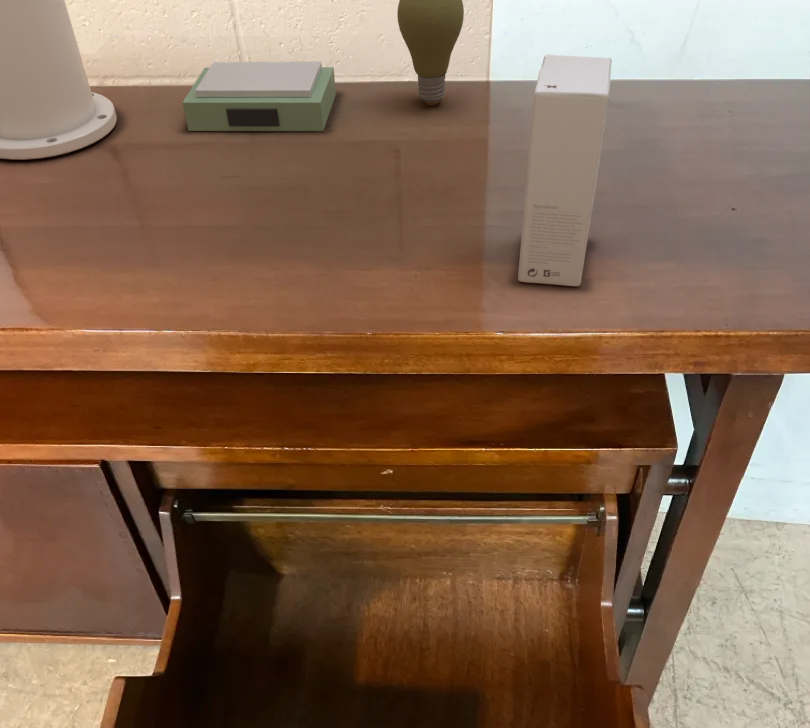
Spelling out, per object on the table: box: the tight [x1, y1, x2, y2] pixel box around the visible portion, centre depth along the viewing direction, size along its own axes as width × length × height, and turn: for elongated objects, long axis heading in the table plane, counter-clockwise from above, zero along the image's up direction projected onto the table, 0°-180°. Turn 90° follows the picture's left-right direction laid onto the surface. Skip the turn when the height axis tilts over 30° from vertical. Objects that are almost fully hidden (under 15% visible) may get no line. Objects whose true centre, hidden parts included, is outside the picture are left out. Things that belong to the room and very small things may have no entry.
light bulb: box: [396, 0, 465, 106], centre depth 72 cm, size 6×6×10 cm
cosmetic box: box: [517, 54, 612, 287], centre depth 53 cm, size 6×4×12 cm
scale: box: [181, 61, 337, 132], centre depth 75 cm, size 12×8×3 cm
